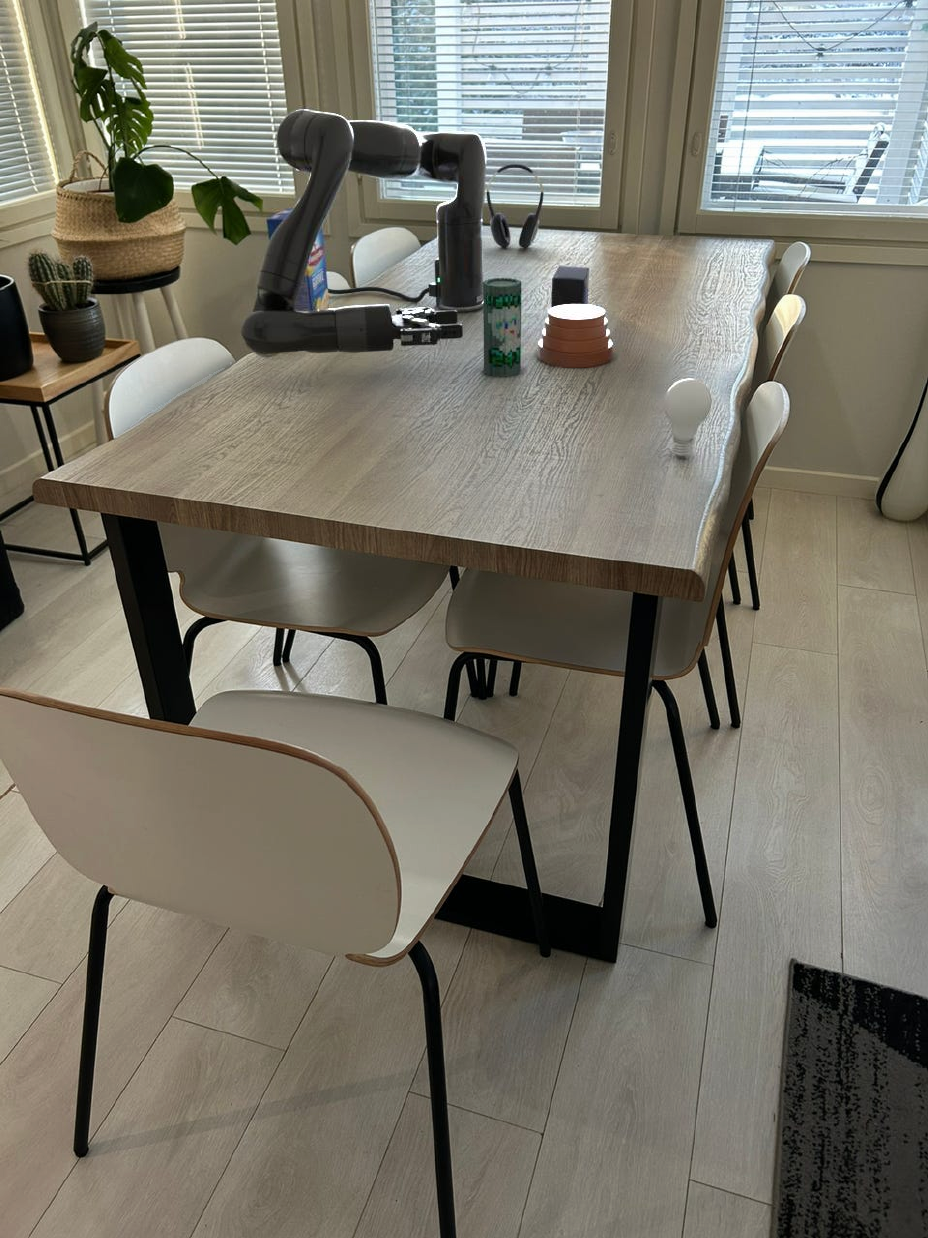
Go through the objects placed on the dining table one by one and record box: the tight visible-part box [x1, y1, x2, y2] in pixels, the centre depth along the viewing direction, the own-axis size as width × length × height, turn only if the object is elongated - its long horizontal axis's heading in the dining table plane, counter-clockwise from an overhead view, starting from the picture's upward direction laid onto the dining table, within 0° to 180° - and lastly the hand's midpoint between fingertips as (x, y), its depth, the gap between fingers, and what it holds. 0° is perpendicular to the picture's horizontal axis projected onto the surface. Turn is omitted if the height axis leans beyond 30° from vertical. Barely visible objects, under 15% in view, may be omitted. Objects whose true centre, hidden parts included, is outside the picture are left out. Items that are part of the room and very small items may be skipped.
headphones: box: [486, 163, 545, 249], centre depth 249 cm, size 9×15×20 cm, turn 77°
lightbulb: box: [663, 378, 713, 458], centre depth 133 cm, size 6×6×11 cm
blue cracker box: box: [266, 208, 331, 311], centre depth 186 cm, size 7×11×22 cm, turn 170°
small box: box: [550, 265, 590, 309], centre depth 188 cm, size 11×6×10 cm, turn 168°
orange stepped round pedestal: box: [537, 304, 613, 369], centre depth 173 cm, size 13×13×8 cm
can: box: [482, 277, 522, 378], centre depth 165 cm, size 6×6×15 cm
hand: (459, 323), depth 164 cm, fingers open, 8 cm apart
